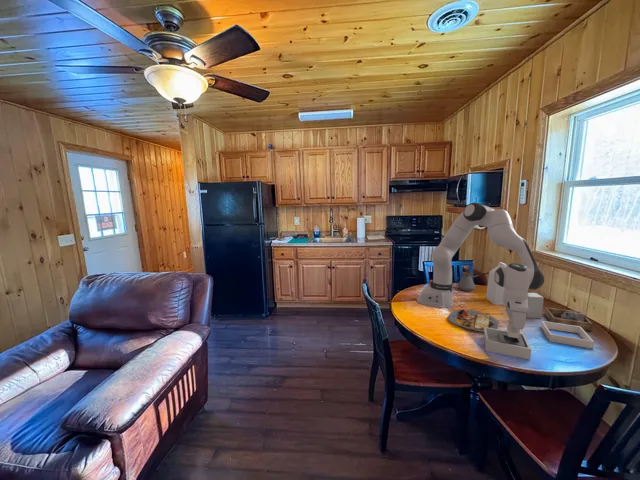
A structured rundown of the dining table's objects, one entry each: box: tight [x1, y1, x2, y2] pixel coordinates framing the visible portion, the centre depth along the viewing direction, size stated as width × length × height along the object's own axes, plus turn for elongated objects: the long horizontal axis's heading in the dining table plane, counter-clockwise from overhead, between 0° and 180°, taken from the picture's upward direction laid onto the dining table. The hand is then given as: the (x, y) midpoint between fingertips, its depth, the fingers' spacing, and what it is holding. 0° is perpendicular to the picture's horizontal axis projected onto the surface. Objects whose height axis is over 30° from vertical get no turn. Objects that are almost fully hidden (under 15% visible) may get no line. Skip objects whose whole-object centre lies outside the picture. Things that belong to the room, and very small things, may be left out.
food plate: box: [447, 308, 500, 332], centre depth 146 cm, size 25×23×4 cm
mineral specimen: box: [560, 310, 587, 322], centre depth 140 cm, size 10×8×10 cm
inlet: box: [497, 332, 525, 347], centre depth 120 cm, size 9×9×4 cm
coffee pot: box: [457, 271, 490, 292], centre depth 192 cm, size 21×12×15 cm, turn 65°
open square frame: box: [540, 320, 595, 349], centre depth 127 cm, size 15×15×4 cm
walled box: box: [483, 327, 532, 361], centre depth 121 cm, size 16×14×5 cm
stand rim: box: [544, 307, 593, 332], centre depth 142 cm, size 15×15×4 cm
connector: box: [506, 320, 521, 338], centre depth 118 cm, size 4×4×8 cm
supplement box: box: [526, 292, 545, 319], centre depth 150 cm, size 7×7×13 cm
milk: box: [485, 261, 508, 306], centre depth 170 cm, size 12×12×26 cm
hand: (512, 329), depth 119 cm, fingers closed on connector, 4 cm apart
